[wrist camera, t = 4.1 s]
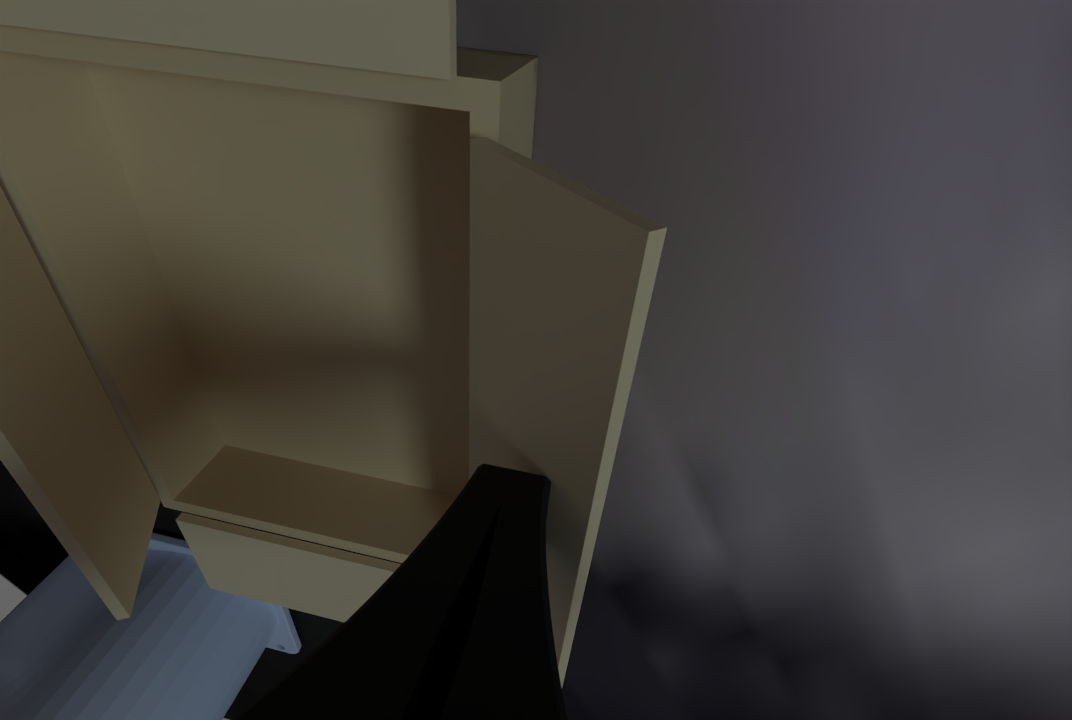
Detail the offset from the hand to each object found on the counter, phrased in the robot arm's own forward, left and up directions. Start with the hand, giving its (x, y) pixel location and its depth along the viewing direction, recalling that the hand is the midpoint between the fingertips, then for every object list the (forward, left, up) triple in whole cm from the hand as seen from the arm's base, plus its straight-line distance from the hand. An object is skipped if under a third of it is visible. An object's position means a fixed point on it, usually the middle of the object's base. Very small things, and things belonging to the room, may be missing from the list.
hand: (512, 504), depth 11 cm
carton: (-7, 0, -5) cm, 9 cm away
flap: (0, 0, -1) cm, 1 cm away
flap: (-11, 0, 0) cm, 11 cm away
